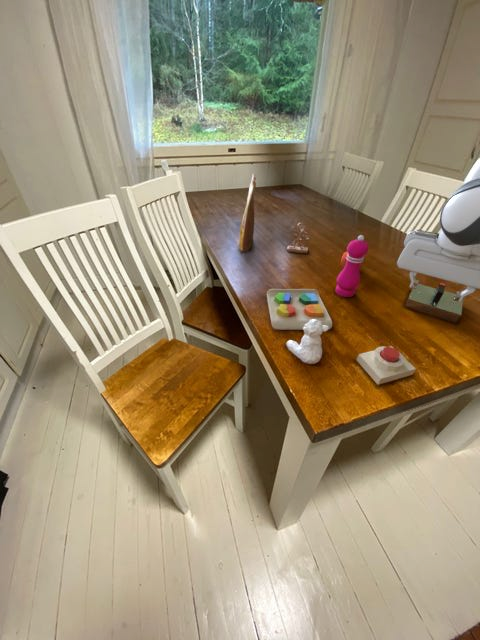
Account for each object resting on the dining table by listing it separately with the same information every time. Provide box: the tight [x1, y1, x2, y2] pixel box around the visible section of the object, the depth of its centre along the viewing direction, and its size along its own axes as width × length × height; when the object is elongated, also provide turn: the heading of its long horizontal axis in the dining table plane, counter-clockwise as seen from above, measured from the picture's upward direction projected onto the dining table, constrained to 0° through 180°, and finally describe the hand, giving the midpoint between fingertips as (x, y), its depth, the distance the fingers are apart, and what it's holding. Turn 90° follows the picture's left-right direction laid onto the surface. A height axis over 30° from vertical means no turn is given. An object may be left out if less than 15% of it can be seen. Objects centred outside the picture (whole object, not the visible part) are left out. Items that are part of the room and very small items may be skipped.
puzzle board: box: [266, 288, 333, 331], centre depth 83 cm, size 18×19×4 cm
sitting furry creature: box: [285, 319, 329, 365], centre depth 66 cm, size 10×9×12 cm
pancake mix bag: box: [238, 172, 257, 253], centre depth 114 cm, size 7×19×28 cm, turn 170°
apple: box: [340, 250, 365, 269], centre depth 104 cm, size 8×8×8 cm
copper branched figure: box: [286, 222, 310, 254], centre depth 115 cm, size 9×4×12 cm, turn 77°
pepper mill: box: [335, 234, 370, 298], centre depth 87 cm, size 7×7×20 cm
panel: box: [404, 283, 464, 323], centre depth 87 cm, size 14×12×3 cm
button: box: [381, 346, 401, 363], centre depth 64 cm, size 4×4×2 cm
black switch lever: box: [433, 282, 446, 302], centre depth 85 cm, size 6×2×4 cm, turn 145°
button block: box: [356, 345, 417, 386], centre depth 66 cm, size 10×8×4 cm
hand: (433, 293), depth 66 cm, fingers open, 8 cm apart
